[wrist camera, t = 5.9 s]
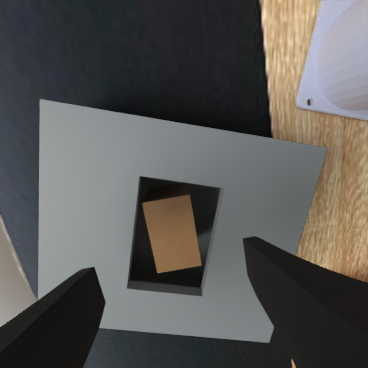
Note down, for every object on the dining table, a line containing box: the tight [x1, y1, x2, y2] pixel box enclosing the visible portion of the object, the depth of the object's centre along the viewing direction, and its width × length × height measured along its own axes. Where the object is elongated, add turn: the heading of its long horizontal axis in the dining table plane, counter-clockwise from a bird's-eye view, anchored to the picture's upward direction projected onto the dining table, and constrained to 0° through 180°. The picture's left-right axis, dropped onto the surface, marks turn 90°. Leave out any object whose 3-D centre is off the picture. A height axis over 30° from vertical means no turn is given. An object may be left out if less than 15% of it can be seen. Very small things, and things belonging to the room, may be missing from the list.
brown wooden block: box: [142, 182, 202, 273], centre depth 15 cm, size 3×5×4 cm, turn 9°
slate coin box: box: [38, 99, 328, 343], centre depth 15 cm, size 16×14×5 cm
